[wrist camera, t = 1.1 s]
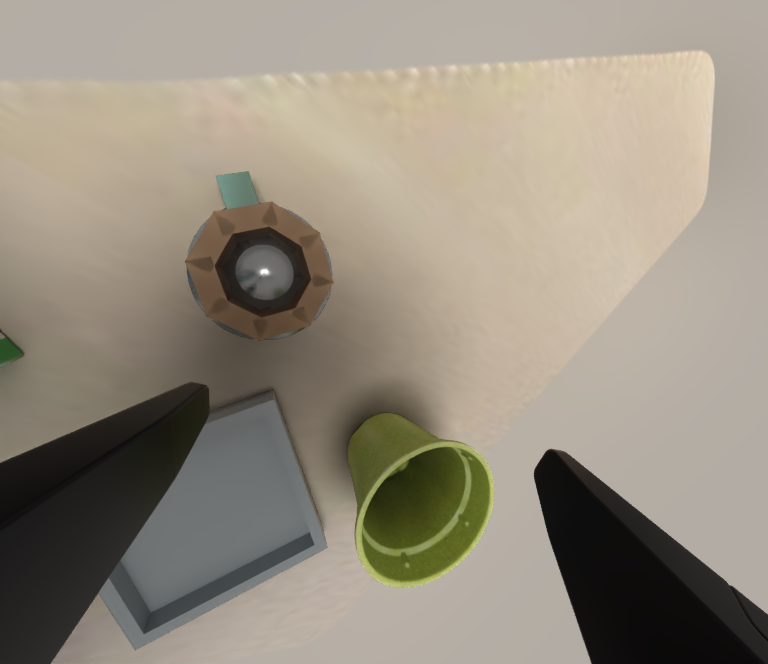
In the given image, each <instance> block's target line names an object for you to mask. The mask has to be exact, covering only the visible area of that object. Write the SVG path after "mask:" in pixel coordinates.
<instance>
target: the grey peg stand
mask: <svg viewBox="0 0 768 664" xmlns="http://www.w3.org/2000/svg"><path fill="white" fill-rule="evenodd" d="M259 204H261V203H259ZM281 208H282V207H281ZM226 209H227V208H225V209H223V210H226ZM282 209H284V208H282ZM284 210H285V211H287V212H288V213H290V214H292V215H293V216H295V217H296V218H298V219H299V220H301V221H302V222H304V223H305V224H307V225H308V226H310V225H309V224H308V223H307V222H306V221H305V220H303V219H302V218H301V217H299V216H298V215H296V214H294V213H293V212H291V211H289V210H287V209H284ZM209 219H210V218H209ZM209 219H208V220H207V221H206V222H205V223H204V224H203V225H202V226H201V227H200V229H199V230H198V232H197V233H196V235H195V236H194V238H193V241H192V243H191V245H190V249H189V252H188V255H189V254H190V252H191V250H192V248H193V247H194V245H195V243H196V241H197V240H198V238H199V236H200V235H201V233H202V231H203V229H204V228H205V226H206V224H207V222H208V221H209ZM310 227H311V226H310ZM311 228H312V227H311ZM322 243H323V241H322ZM323 247H324V250H325V254H326V257H327V261H328V265H329V268H330V272H331V276H332V267H331V262H330V258H329V255H328V252H327V249H326V247H325V245H324V243H323ZM224 271H225V273H226V276H227V279H228V282H229V284H230V287H231V290H232V293H233V295H234V297H235V298H237V299H239V300H241V301H243V302H245V303H247V304H249V305H251V306H253V307H255V308H257V309H259V310H261V311H263V310H267V309H270V308H274V307H278V306H281V305H285V304H289V303H290V302H291V300H292V299H293V297H294V295H295V293H296V291H297V290H298V288H299V286H300V284H301V282H302V281H303V277H302V273H301V270H300V267H299V263H298V260H297V257H296V253H295V252H294V251H293V250H291V249H289V248H288V247H286V246H285V245H283V244H281V243H280V242H278V241H276V240H275V239H273V238H271V237H270V236H265V237H260V238H256V239H251V240H246V241H241V242H238V243H237V245H236V247H235V249H234V250H233V252H232V254H231V256H230V258H229V259H228V261H227V263H226V265H225V266H224ZM187 275H188V281H189V285H190V288H191V291H192V293H193V295H194V297H195V299H196V301H197V303H198V304H199V306H200V307H201V309H202V310H203V311H204V308H203V306H202V303H201V301H200V298H199V296H198V293H197V291H196V288H195V286H194V283H193V280H192V278H191V275H190V273H189V270H188V268H187ZM330 290H331V288H330ZM330 290H329V292H328V293H327V295H326V297H325V299H324V301H323V303H322V304H321V306H320V308H319V310H318V312H317V313H316V315H315V317H314V319H313V321H314V320H315V319H316V317H317V316H318V315H319V314H320V312H321V311H322V309H323V308H324V306H325V304H326V302H327V300H328V297H329V294H330ZM204 312H205V311H204ZM210 319H211V318H210ZM212 320H213V319H212ZM213 321H214V322H215V323H216V324H218V325H219V326H221V327H222V328H223V329H225V330H227V331H229V332H231V333H233V334H236V335H239V336H241V337H245V338H249V339H255V338H253V337H251V336H248V335H246V334H244V333H242V332H240V331H237V330H235V329H233V328H231V327H229V326H227V325H224V324H222V323H220V322H218V321H216V320H213ZM306 327H307V326H306ZM304 328H305V327H303V328H300V329H296V330H293V331H290V332H286V333H283V334H280V335H277V336H273V337H270V338H267V339H263V340H272V339H279V338H283V337H287V336H290V335H292V334H295V333H297V332H299V331H301V330H302V329H304ZM256 340H257V339H256Z"/></svg>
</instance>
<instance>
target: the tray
mask: <svg viewBox="0 0 768 664" xmlns="http://www.w3.org/2000/svg"><path fill="white" fill-rule="evenodd" d="M326 548H328V547H327V543H326V539H325V534H324V530H323V527H322V524H321V521H320V518H319V516H318V513H317V510H316V507H315V505H314V502H313V499H312V496H311V493H310V491H309V488H308V485H307V482H306V479H305V477H304V474H303V471H302V468H301V466H300V463H299V460H298V457H297V454H296V452H295V449H294V446H293V443H292V441H291V438H290V435H289V432H288V429H287V427H286V424H285V421H284V418H283V415H282V413H281V410H280V407H279V404H278V402H277V399H276V396H275V393H274V390H270V391H267V392H264V393H261V394H259V395H256V396H253V397H250V398H247V399H244V400H242V401H239V402H236V403H233V404H230V405H227V406H225V407H222V408H219V409H216V410H213V411H210V412H209V416H208V419H207V421H206V423H205V425H204V427H203V429H202V431H201V432H200V434H199V436H198V438H197V440H196V442H195V444H194V446H193V447H192V449H191V451H190V453H189V455H188V457H187V459H186V460H185V462H184V464H183V466H182V468H181V470H180V471H179V473H178V475H177V477H176V478H175V480H174V482H173V483H172V485H171V486H170V488H169V489H168V491H167V492H166V494H165V495H164V497H163V498H162V500H161V501H160V503H159V504H158V506H157V507H156V509H155V510H154V511H153V513H152V514H151V516H150V517H149V519H148V520H147V522H146V523H145V525H144V526H143V528H142V529H141V531H140V532H139V534H138V535H137V537H136V538H135V540H134V541H133V543H132V544H131V545H130V547H129V548H128V550H127V551H126V553H125V554H124V556H123V557H122V559H121V560H120V562H119V563H118V565H117V566H116V568H115V569H114V571H113V572H112V574H111V575H110V577H109V578H108V580H107V581H106V582H105V584H104V585H103V587H102V588H101V590H100V591H99V595H100V597H101V598H102V600H103V601H104V603H105V604H106V606H107V607H108V609H109V611H110V612H111V614H112V615H113V617H114V618H115V620H116V621H117V623H118V625H119V626H120V628H121V629H122V631H123V632H124V634H125V635H126V637H127V639H128V640H129V642H130V643H131V645H132V646H133V648H134V649H135V650H137V649H138V648H140V647H142V646H144V645H146V644H148V643H150V642H152V641H154V640H155V639H157V638H159V637H161V636H163V635H165V634H167V633H169V632H170V631H172V630H174V629H176V628H178V627H180V626H182V625H184V624H185V623H187V622H189V621H191V620H193V619H195V618H197V617H199V616H200V615H202V614H204V613H206V612H208V611H210V610H212V609H214V608H215V607H217V606H219V605H221V604H223V603H225V602H227V601H229V600H230V599H232V598H234V597H236V596H238V595H240V594H242V593H244V592H245V591H247V590H249V589H251V588H253V587H255V586H257V585H259V584H260V583H262V582H264V581H266V580H268V579H270V578H272V577H274V576H275V575H277V574H279V573H281V572H283V571H285V570H287V569H289V568H290V567H292V566H294V565H296V564H298V563H300V562H302V561H304V560H305V559H307V558H309V557H311V556H313V555H315V554H317V553H319V552H320V551H322V550H324V549H326Z"/></svg>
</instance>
